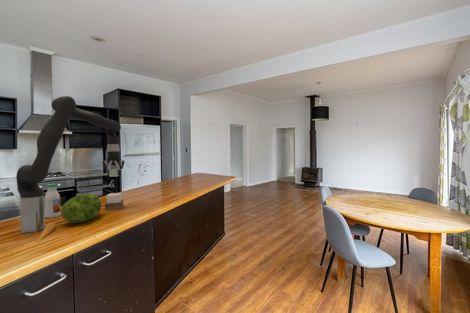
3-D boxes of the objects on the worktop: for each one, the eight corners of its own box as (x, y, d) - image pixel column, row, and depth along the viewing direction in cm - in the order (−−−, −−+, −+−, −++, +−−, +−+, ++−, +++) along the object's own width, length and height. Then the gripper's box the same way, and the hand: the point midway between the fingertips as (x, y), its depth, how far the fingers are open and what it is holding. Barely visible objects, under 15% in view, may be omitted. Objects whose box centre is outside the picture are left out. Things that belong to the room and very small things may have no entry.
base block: (121, 209, 161) (121, 202, 161) (105, 211, 158) (104, 203, 158) (123, 206, 171) (123, 199, 171) (107, 207, 168) (107, 200, 167)
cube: (117, 176, 162) (117, 169, 162) (109, 176, 161) (109, 169, 160) (118, 175, 167) (118, 168, 167) (110, 176, 165) (110, 168, 165)
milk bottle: (47, 219, 140) (46, 185, 139) (43, 216, 145) (42, 184, 144) (62, 216, 146) (61, 183, 145) (58, 213, 151) (57, 182, 150)
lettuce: (110, 213, 151) (109, 189, 151) (83, 227, 125) (83, 198, 124) (87, 213, 151) (86, 189, 151) (55, 227, 125) (54, 198, 124)
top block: (119, 202, 162) (119, 195, 162) (106, 203, 159) (106, 195, 159) (121, 199, 169) (121, 193, 169) (109, 200, 167) (109, 193, 167)
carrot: (49, 230, 123) (45, 223, 122) (59, 226, 124) (55, 219, 123) (33, 249, 105) (28, 241, 103) (45, 244, 106) (40, 236, 105)
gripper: (100, 151, 157) (101, 176, 158) (124, 150, 162) (124, 175, 162) (102, 150, 164) (103, 175, 165) (125, 150, 169) (125, 174, 170)
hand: (114, 175), depth 164 cm, fingers closed on cube, 5 cm apart
